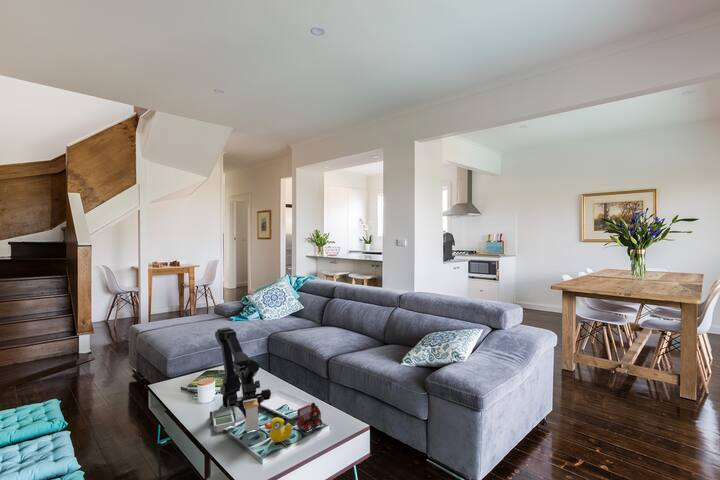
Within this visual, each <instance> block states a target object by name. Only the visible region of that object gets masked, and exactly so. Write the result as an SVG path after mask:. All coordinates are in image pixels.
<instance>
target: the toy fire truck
mask: <svg viewBox="0 0 720 480" xmlns="http://www.w3.org/2000/svg"><path fill="white" fill-rule="evenodd" d="M297 415H298V417H297V418H298V420H297V422H296V426H297V427H296V428H298V429H299V430H303V429H304V432H305V431H306V432H305V433H307V431H309V430H311V429H312V428H315V427H317V426H319V425H321V424H323V422H322V413H321V410H320V408H319V406H318V405H316V403H315V402H311V405H307V406H304V407H302V408H300V409H298V410H297ZM321 426H322V425H321ZM312 430H313V429H312Z"/></svg>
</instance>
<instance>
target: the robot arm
mask: <svg viewBox="0 0 720 480" xmlns="http://www.w3.org/2000/svg"><path fill="white" fill-rule="evenodd" d="M214 337H215V339H216V342H217V344H219V345H220V348H221V349H220V350H221V355H222V363H223V368H224V376H223V379H222V385H221V387H220V388H219V391H220V395H222V396H221V397H222V406H223V408H232V407H235V408H238V410H240V412H241V413H242V415H243V417H244V419H245V418H246V412H245V406H244V402H247V401H252V400H253V399H257V402H258V404H259V407H258V416H259V414H260V408H261V406H260V404H261V403H262V402H263V400H268V399H270V396H271V392H272V391H271V389H270V388H267V389H266V388H265V389H262V390H260V391H261V392H259V393H257V389H260V388H261V381H260V380H254V377H256V375H257V373H258V371H259V370H260V364H259V363H258V362H257V361H255V360H253V359H252V358H251V359H250V357H249V355H248V354H246V353H245V352H244V351H243V349H242V347H241V344H240V342H239V340H238V337H237V331H235V329H234V328H231V327H223V328H218V329H217V330H216V331H215V333H214ZM237 373H240V375H239V374H237ZM240 390H241V391H242V392H241V393H242V394H241V395H242V396H238V395H237V394H238V392H240Z"/></svg>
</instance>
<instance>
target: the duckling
mask: <svg viewBox="0 0 720 480" xmlns="http://www.w3.org/2000/svg"><path fill="white" fill-rule="evenodd" d="M284 425H285V426H284ZM264 428H265V429H266V430H269V431H270V432H269V438H270V440H271V441H272V442H274V443H277V442H278V443H280V442H284V441H286V440H288V439H289V438H290V437H291V435H292V432H293V430H292V429H293V427H292V424H290V423H289V422H288V423H286V424H285V420H284V419H283V418H281V417H273V418H272V419H271V420H270V421H269V423H266V422H265V423H264Z"/></svg>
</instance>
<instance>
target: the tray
mask: <svg viewBox="0 0 720 480" xmlns="http://www.w3.org/2000/svg"><path fill="white" fill-rule="evenodd" d="M252 400H257V399H252ZM311 403H312V402H311V401H308V400H305V399H303V398H300V397H299V396H296V395H293V394H290V393H288V392H285V391H283V390H281V389H279V388H278V389H274V390H272V391H271V396H270V399H268V400H263V402H262V403H261V404H260V407H262V408H265V409H267V410H268V411H271V412H273V413H275V414H276V415H279V416H281V417H283V418H285V419H287V420H290V419H291V420H294V419H296V418H298V417H297V416H298V415H297V414H296V415H294V416H292V417H288V416H286V415H285V414H283V413H281V412H279V411H276V410H274V409H275V408H277V407H279V406H281V405H284V404H287V405H288V407H289V409H293V410H298V409H300V408H302V407H304V406H307V405H311ZM295 417H296V418H295ZM293 418H294V419H293Z"/></svg>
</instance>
